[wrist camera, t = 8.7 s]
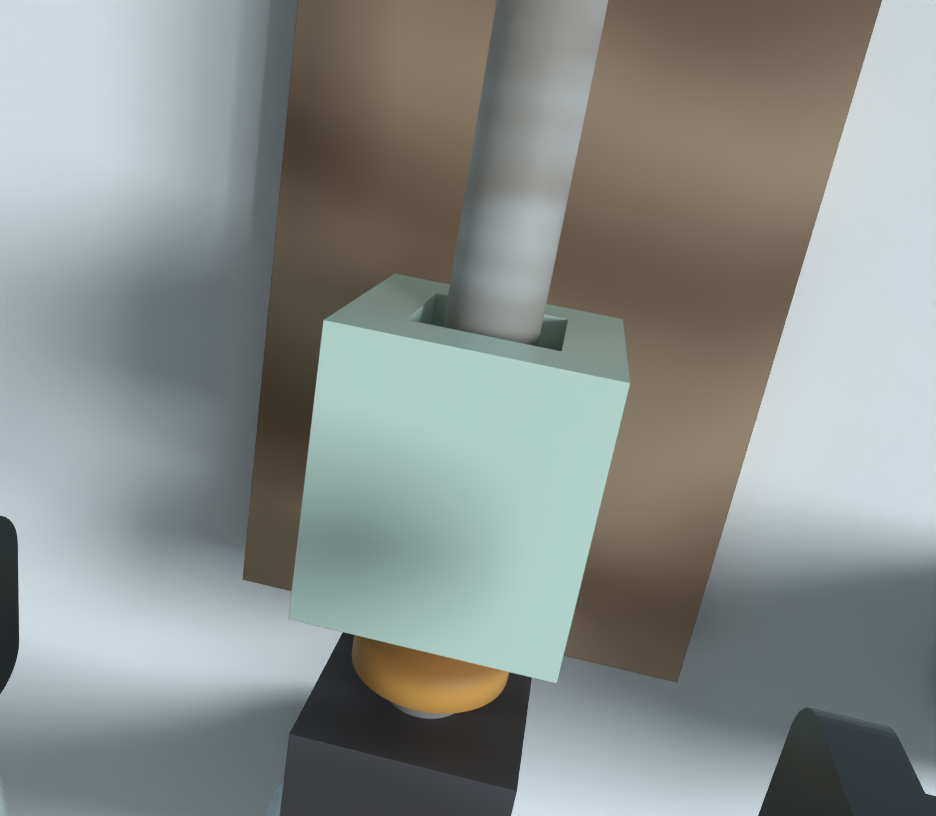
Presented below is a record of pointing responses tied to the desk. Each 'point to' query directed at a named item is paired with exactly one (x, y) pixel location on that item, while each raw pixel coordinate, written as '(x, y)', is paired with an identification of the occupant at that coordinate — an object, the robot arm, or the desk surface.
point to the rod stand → (544, 305)
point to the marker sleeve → (455, 477)
